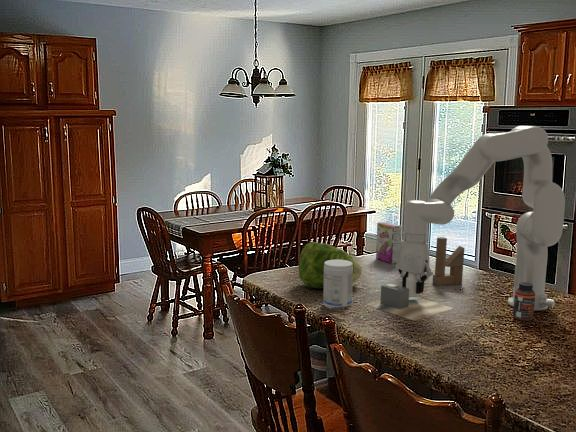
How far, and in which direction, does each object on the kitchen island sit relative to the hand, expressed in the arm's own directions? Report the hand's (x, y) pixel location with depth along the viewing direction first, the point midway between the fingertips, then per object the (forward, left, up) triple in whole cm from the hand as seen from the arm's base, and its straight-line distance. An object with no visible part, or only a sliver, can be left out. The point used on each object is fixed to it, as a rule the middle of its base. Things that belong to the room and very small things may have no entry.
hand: (412, 290), depth 195 cm
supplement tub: (+13, +22, -5) cm, 26 cm away
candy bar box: (+45, -40, -5) cm, 60 cm away
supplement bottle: (-31, -16, -5) cm, 35 cm away
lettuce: (+31, +8, -5) cm, 32 cm away
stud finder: (0, +9, -3) cm, 10 cm away
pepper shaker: (0, 0, -2) cm, 2 cm away
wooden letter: (+7, -30, -5) cm, 31 cm away
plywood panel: (-4, +6, -4) cm, 9 cm away
